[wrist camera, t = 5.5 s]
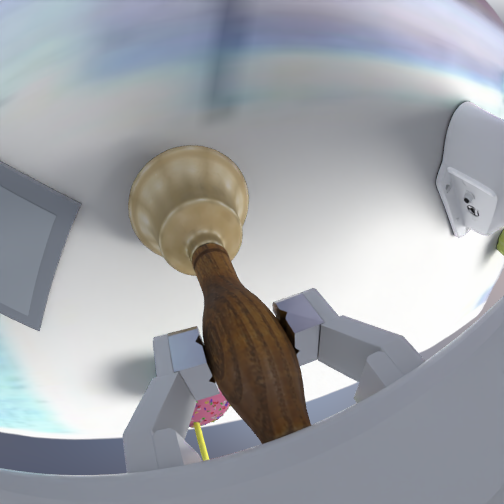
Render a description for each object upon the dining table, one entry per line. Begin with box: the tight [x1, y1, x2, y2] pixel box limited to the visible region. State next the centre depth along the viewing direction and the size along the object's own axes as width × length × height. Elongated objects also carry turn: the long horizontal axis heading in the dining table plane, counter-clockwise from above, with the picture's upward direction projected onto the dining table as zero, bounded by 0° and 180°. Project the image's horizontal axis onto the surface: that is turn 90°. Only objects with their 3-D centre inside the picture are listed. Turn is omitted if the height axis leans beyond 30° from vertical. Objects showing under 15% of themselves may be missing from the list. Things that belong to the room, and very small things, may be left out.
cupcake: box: [189, 388, 231, 461], centre depth 26 cm, size 9×8×12 cm
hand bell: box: [128, 145, 311, 444], centre depth 12 cm, size 8×8×16 cm
